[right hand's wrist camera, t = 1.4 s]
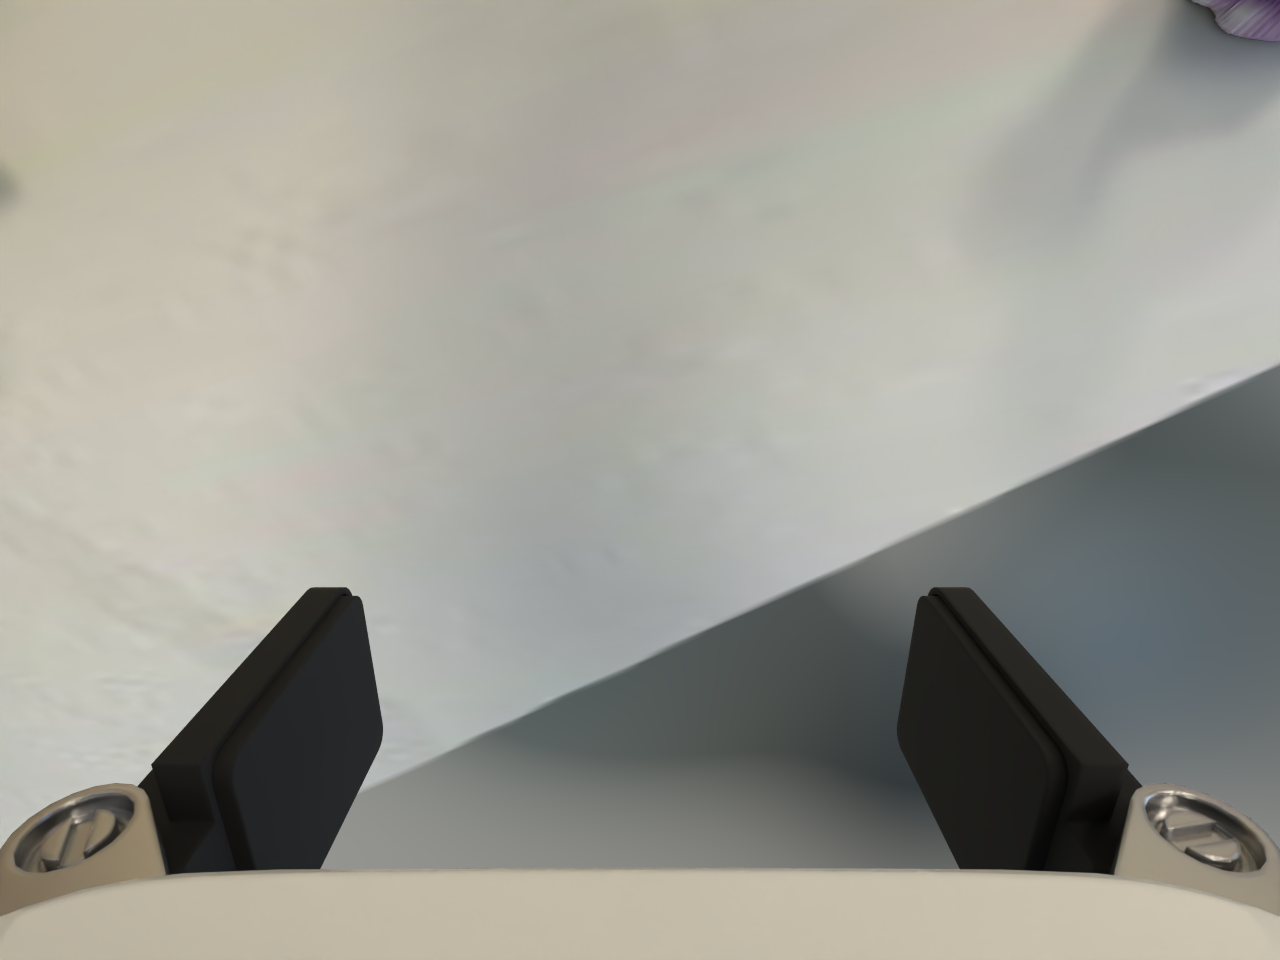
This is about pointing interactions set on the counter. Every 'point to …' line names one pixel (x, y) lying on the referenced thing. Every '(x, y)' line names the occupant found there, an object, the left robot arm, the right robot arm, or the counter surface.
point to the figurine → (1247, 17)
